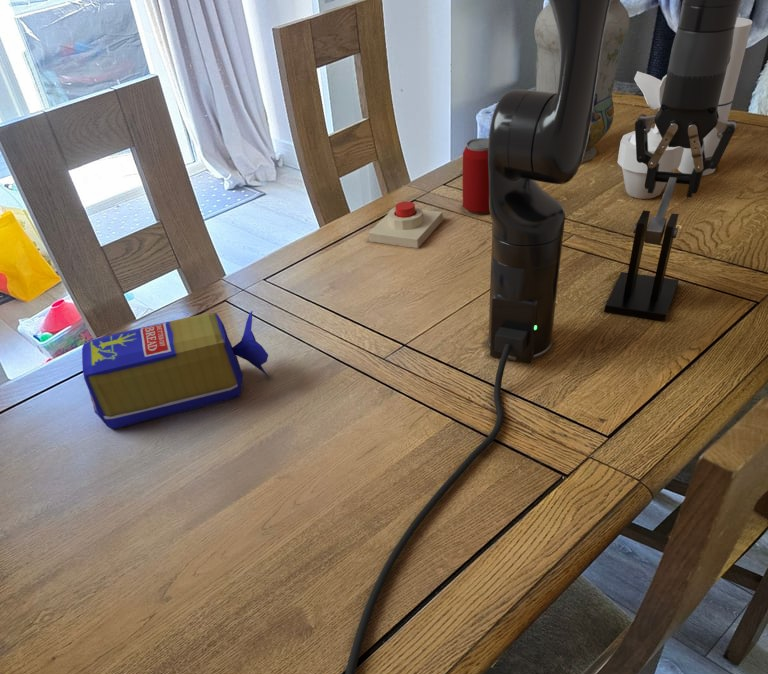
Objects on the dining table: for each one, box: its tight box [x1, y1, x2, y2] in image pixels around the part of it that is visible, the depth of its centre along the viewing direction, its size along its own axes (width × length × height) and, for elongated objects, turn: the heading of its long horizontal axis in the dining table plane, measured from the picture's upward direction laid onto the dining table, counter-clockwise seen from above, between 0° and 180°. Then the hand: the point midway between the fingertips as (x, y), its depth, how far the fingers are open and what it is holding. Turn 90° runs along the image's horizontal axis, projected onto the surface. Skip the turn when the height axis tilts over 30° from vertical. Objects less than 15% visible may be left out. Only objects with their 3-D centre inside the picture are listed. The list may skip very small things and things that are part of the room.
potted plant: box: [617, 70, 684, 200], centre depth 127 cm, size 13×12×25 cm
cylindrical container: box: [677, 16, 753, 177], centre depth 133 cm, size 7×7×25 cm
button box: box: [368, 205, 444, 249], centre depth 131 cm, size 12×10×4 cm
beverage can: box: [462, 137, 490, 215], centre depth 132 cm, size 7×7×12 cm
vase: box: [533, 0, 630, 164], centre depth 141 cm, size 18×18×30 cm
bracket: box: [603, 209, 680, 322], centre depth 105 cm, size 11×9×13 cm
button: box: [394, 201, 416, 218], centre depth 130 cm, size 4×4×2 cm
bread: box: [81, 310, 270, 430], centre depth 97 cm, size 10×25×10 cm, turn 108°
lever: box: [644, 171, 691, 246], centre depth 103 cm, size 13×5×2 cm, turn 154°
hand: (670, 192), depth 106 cm, fingers closed on lever, 5 cm apart
